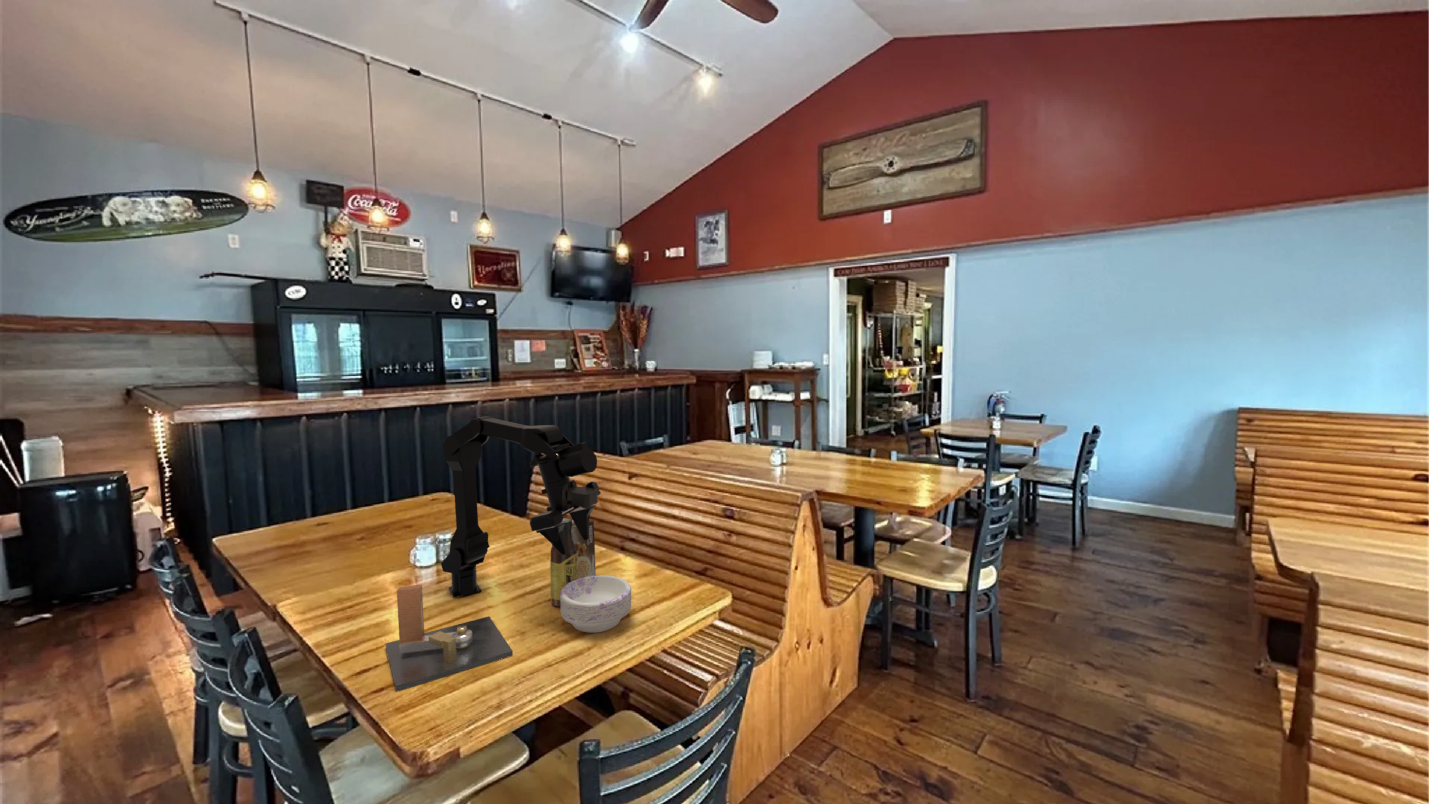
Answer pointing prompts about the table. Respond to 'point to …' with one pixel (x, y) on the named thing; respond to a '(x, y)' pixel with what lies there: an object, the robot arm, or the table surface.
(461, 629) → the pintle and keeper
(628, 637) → the table surface
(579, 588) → the paper bowls
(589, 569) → the coffee box
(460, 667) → the base plate
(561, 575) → the sauce bottle
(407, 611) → the link
